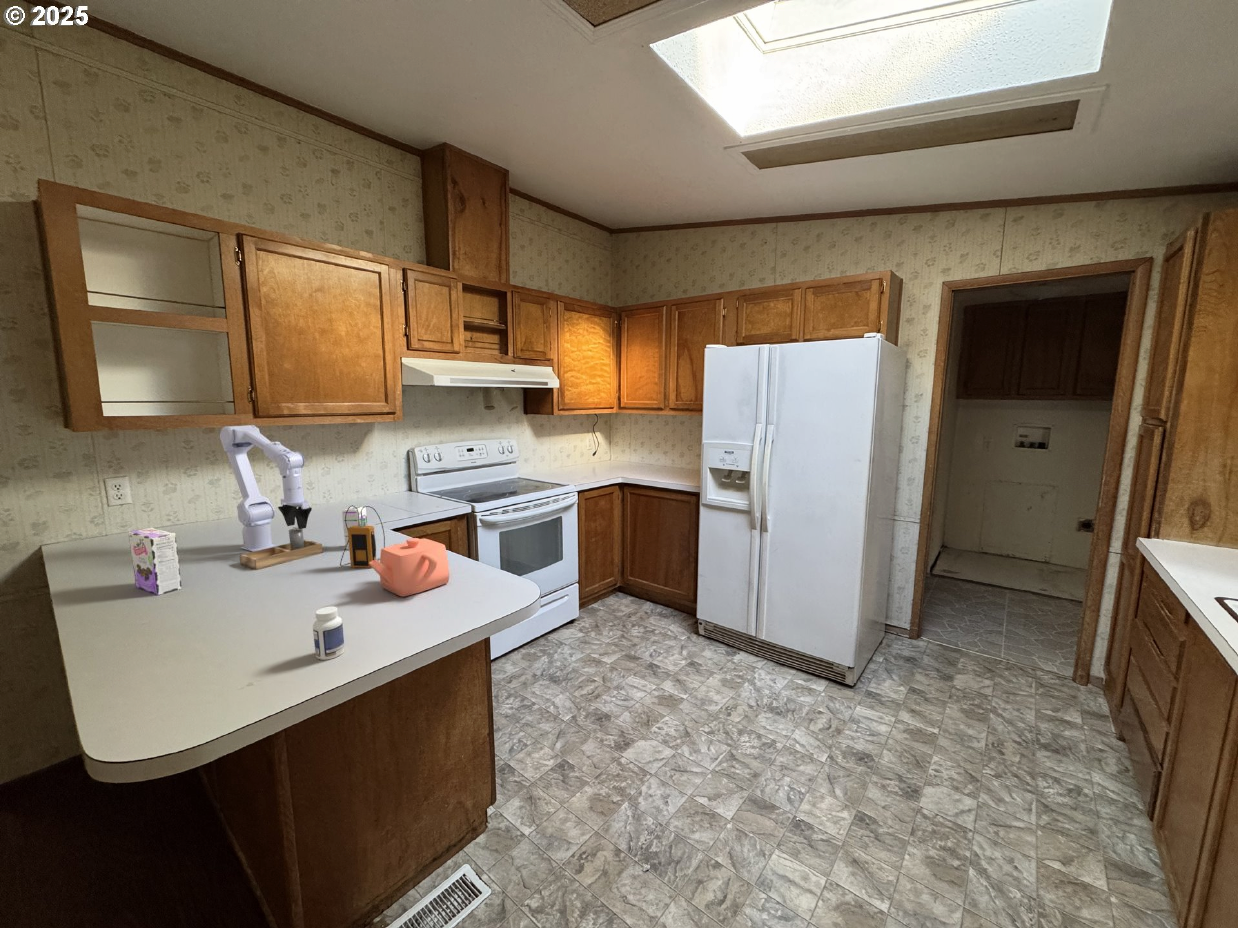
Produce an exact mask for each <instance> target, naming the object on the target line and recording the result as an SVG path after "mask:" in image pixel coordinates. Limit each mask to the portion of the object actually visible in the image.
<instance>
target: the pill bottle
mask: <svg viewBox="0 0 1238 928" xmlns="http://www.w3.org/2000/svg"><path fill="white" fill-rule="evenodd" d="M338 614H339V612H338V607H336V606H326V607H322V608H319V609H317V610H316V611H315V619H316V620H315V621H314V622H313V624H312V632H313V641H314V651H315V652H314V653H315V657H316V658H317V659H318V660H323V661H325V660H331V659H335V658H337V657H339V656H341V655H342V654H343V653H345V640H344V639H345V638H344V628H343V624H344V623H343V619H342V618H341V616H339V615H338Z"/></svg>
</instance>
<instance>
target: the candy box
mask: <svg viewBox="0 0 1238 928" xmlns="http://www.w3.org/2000/svg"><path fill="white" fill-rule="evenodd" d="M176 535H177V534H176V533H175V532H170V531H166V530H162V529H158V528H155V527H147V528H142V529H138V530H133V531H128V538H129V539H128V540H129V547H130V553H131V559H132V566H133V567H132V568H133V573H134V581H135V587H136V588H138V589H141V590H144V591H146V592H149V593H152V594H154V595H157V596H160V595H163V594H167V593H172V592H174V591H175V590H176V591H179V589H180V590H182V588H183V587H182V581H181V573H180V571H181V570H180V563H179V553H178V545H177V544H178V542H177V536H176Z"/></svg>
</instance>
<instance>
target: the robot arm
mask: <svg viewBox="0 0 1238 928" xmlns="http://www.w3.org/2000/svg"><path fill="white" fill-rule="evenodd" d="M219 439H220V442H221V445H222V447H223V451H224V452H225V453H226V455H227V457H228V461H229V462H230V465H231V468H232V471H233V474H234V478H235V480H236V483H237V486H238V489H239V491H240V494H241V498H242V499H241V501H240V502H239V503H238V504H237V505H236V510H237V519H238V521H239V522H240V523H241V525H242V526H243V527H242V530H241V532H242V540H243V542H242V543H243V545H242V546H240V548H241V549H242V550H243V549H244V550H246V551H250V552H254V551H258V550H262V549H267V548H271V547H275V546H278V544H275V543H273V538H272V529H271V522H273V519H274V518H275V515H276V509H275V507H274V505H272V503H271V501H270V499H269V498H268V497H266V496H264V495H262V494H261V492H260V489H259V487H258V484H257V481H256V478H255V475H254V473H253V469H252V467H251V466H252V465H251V463H250V460H249V458H248V455H247V453H248V451H250V450H251V449H252V448H253V447H254V446H256V447H258V448H259V449H261V450H262V451H263V455H264V456H265V457H266V458H268V459H270V460H271V461H273V462H275V465H276V467H277V468H278V470H279V475H280V476H281V479H282V480H281V482H282V489H283V490H282V491H283V498H280V506H278V507H277V508H278V510H279V511H280V513H281V515H282V516H283V519H284V521H285V524H286V526H287V527H292V526H295V525H296V526H297V527H298V528H299V529H303V530H304V529H306V528H307V525H308V524H307V523H308V519H309V517H310V514H311V511H312V509H313V508H312V507H310V506H309V502H308V501H306V500H305V497H304V485H303V474H302V469H303V468H304V466H305V464H306V461H305V457H304V455H303V454H302V453H301V452H300V451H292V450H290V448H287V447H286V446H284V445H282V444H281V442H280V441H271V440H269V439H268V438H267V437H266V436H264V435H263V434H262V433H261V432H260V428H258V427H257V426H256V425H254V424H249V425H235V426H234V425H232V426H229V425H228V426H227V425H226V426H222V428H221V430H220V434H219ZM295 523H296V524H295Z"/></svg>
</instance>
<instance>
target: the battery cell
mask: <svg viewBox="0 0 1238 928" xmlns="http://www.w3.org/2000/svg"><path fill="white" fill-rule="evenodd" d="M303 531H304V528H303V529H299V528H298V526H294V527H292V528H291V529H289V530H288V536H289V543H290V547H291V551H292V550H296V549H300V548H304V540H305V539H304V532H303Z"/></svg>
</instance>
